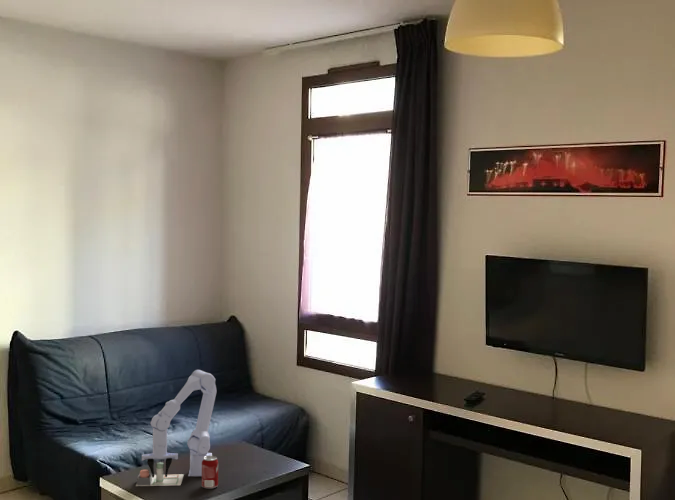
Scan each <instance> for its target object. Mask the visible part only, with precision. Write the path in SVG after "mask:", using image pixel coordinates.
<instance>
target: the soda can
mask: <svg viewBox="0 0 675 500" xmlns="http://www.w3.org/2000/svg"><path fill="white" fill-rule="evenodd" d="M218 486H219V460H218V457H217V456H215V455H212V456H206V457H204V458H203V461H202V476H201V487H202V488H204V489H206V490H212V489H215V488H216V487H217V488H218Z"/></svg>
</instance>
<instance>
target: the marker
mask: <svg viewBox="0 0 675 500" xmlns="http://www.w3.org/2000/svg"><path fill="white" fill-rule="evenodd" d="M164 465H165V463H164V462H161V461H160V462H156V463H155V475H156V483H162V482H163V481H164V478H163V476H164V475H165V474H164V467H165V466H164Z"/></svg>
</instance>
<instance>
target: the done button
mask: <svg viewBox="0 0 675 500" xmlns="http://www.w3.org/2000/svg"><path fill="white" fill-rule="evenodd" d="M139 474H140V478H149V474H150V470H149V469H141V470H140V471H139Z"/></svg>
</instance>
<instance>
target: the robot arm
mask: <svg viewBox="0 0 675 500" xmlns="http://www.w3.org/2000/svg"><path fill="white" fill-rule="evenodd" d="M188 376H189V375H188ZM198 390H199V391H201V393H202V398H201V402H200V407H199V410H198V411H199V412H198V415H197V421H196V425H195V429H194V430H193V431H192V432H191V434H190V437H189V438H188V439H187V442H186V444H187V447H188V449H189V472H188V474H187V477H202V461H203V458H204V457H206V456H213V453H212V452H209V451H210V449H211V442H210V440H211V437H210V434H209V430H210V429H209V428H210V424H211V419H212V414H213V410H214V407H215V406H214V405H215V402H216V396H217V385H216V378H215V376H214V375H213V374H212V373H210V372H206V371H204V370H201V369H195V370H194V371H192V373H191V375H190V376H189V377H188V379H187V381H186V382H185V384H184V386H182V387H181V389H180V390H179V392H178V393H177V395H176V396H175V398H174V399H170V400H169V401H166V402H165V405H164V406H163V408H162V409H161V410H160V411H159V412H158V413H157V414H155V415H154V416H153V417H152V418H151V421H150V426H151V428H152V452H151V453H146V454H141V461H147V465H148V468H149V469H150V470H149V471H150V474H152V478H153V477H154V475H155V460H165V474H164V475H165V477H167V475H168V472H169V469H170V467H171V464H172V462H173V460H178V459H179V453H177V452H176V453H175V452H174V453H173V452H168V429H169V428H170V425H171V421H172V419H173V418H174V417H175V416H176V414H178V412H179V411H180V410H181V404H182V403H183V402H184V401H185V400H186V399H188V397H189V396H190V395H191V394H192V392H194V391H198Z"/></svg>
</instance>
